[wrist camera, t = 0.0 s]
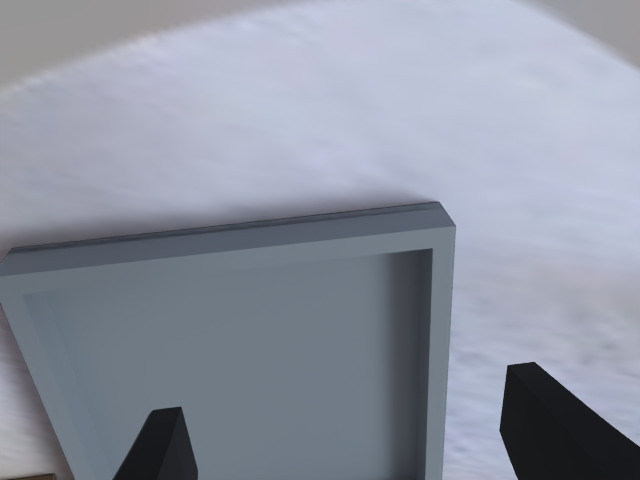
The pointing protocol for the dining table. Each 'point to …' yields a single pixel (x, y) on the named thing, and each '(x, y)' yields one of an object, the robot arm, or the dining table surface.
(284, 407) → the tray
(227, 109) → the dining table surface
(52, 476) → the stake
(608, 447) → the robot arm
